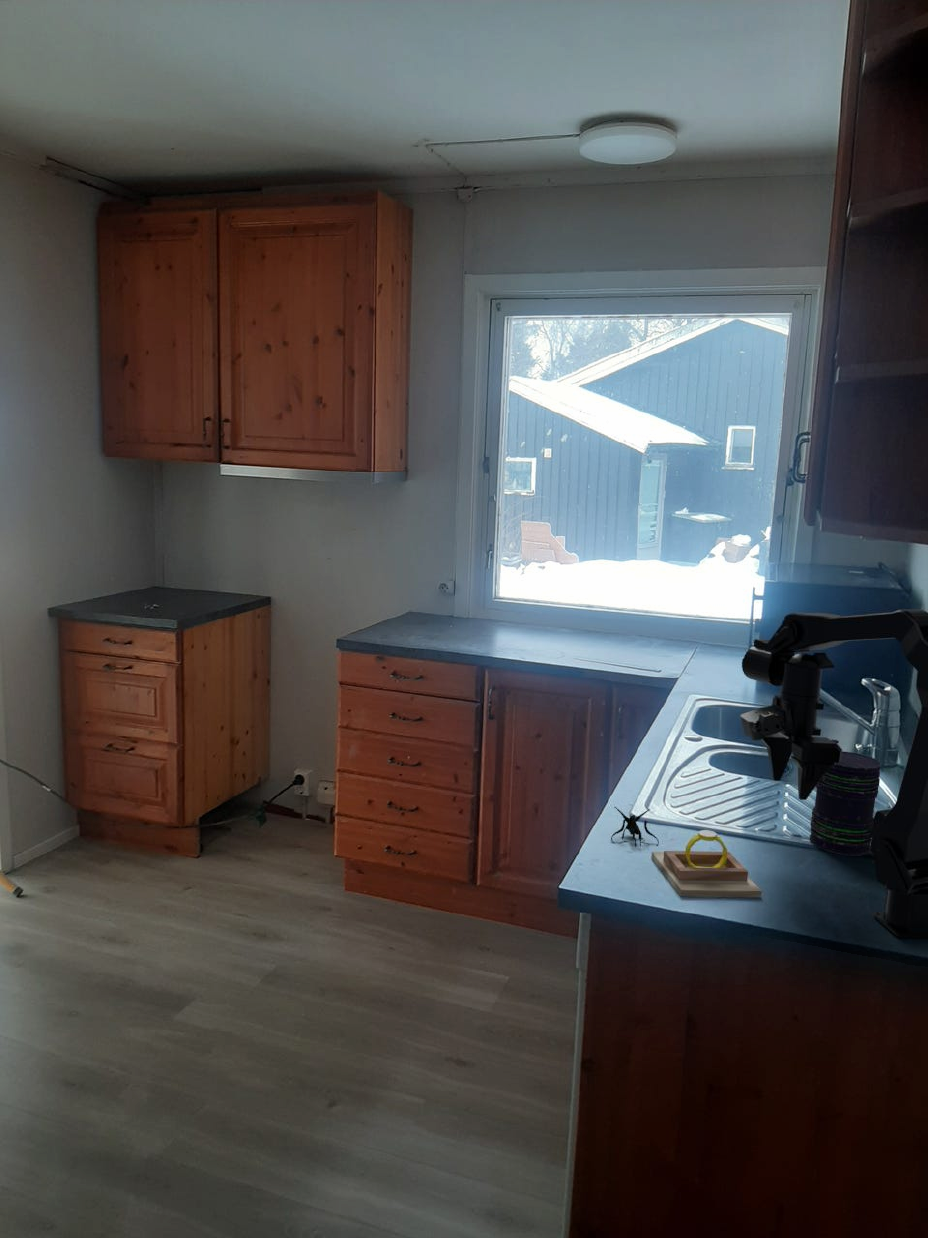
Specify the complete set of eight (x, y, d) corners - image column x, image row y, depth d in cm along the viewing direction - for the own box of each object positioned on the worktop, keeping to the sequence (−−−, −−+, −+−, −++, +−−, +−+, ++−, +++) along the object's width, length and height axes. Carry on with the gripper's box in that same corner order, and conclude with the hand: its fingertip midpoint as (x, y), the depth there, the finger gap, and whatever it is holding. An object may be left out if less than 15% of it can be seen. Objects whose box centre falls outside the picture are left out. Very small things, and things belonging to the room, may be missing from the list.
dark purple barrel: (855, 835, 163) (868, 735, 161) (881, 857, 154) (895, 751, 151) (799, 832, 163) (810, 732, 161) (822, 854, 153) (834, 748, 151)
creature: (660, 857, 151) (652, 829, 159) (665, 829, 150) (656, 802, 157) (612, 854, 151) (606, 826, 159) (616, 826, 149) (609, 799, 157)
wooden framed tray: (760, 897, 135) (762, 881, 135) (680, 896, 134) (682, 880, 134) (724, 858, 149) (726, 844, 149) (651, 857, 148) (652, 842, 147)
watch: (687, 874, 140) (688, 836, 139) (683, 867, 143) (684, 829, 142) (727, 874, 140) (728, 836, 139) (723, 867, 143) (724, 829, 142)
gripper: (727, 678, 153) (717, 770, 156) (776, 705, 135) (764, 809, 137) (791, 680, 155) (781, 772, 157) (849, 708, 136) (837, 810, 139)
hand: (789, 789), depth 147 cm, fingers open, 9 cm apart
